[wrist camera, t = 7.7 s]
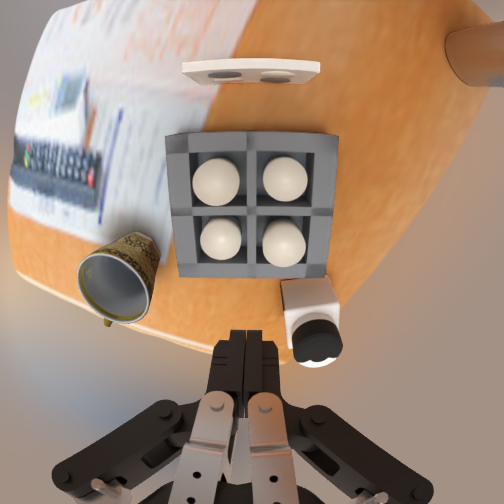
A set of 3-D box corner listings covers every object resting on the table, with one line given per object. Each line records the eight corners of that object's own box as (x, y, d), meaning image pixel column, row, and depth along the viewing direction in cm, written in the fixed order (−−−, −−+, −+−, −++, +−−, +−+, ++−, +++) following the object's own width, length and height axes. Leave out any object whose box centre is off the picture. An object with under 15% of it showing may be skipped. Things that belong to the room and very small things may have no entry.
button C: (240, 156, 28) (238, 160, 25) (240, 197, 30) (239, 205, 27) (197, 157, 28) (191, 161, 25) (199, 198, 30) (194, 206, 27)
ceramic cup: (118, 209, 35) (81, 239, 26) (181, 238, 37) (159, 277, 28) (102, 279, 40) (73, 317, 31) (156, 304, 42) (136, 348, 33)
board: (326, 133, 30) (338, 136, 26) (316, 258, 38) (324, 277, 33) (177, 133, 30) (165, 136, 26) (187, 258, 38) (179, 277, 34)
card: (303, 76, 27) (320, 62, 19) (303, 85, 28) (320, 73, 20) (200, 77, 27) (181, 62, 19) (200, 86, 28) (181, 74, 20)
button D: (241, 213, 33) (240, 222, 30) (242, 248, 35) (241, 260, 32) (203, 213, 33) (198, 222, 30) (205, 248, 35) (201, 259, 32)
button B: (302, 218, 31) (307, 228, 28) (300, 254, 33) (303, 267, 30) (262, 218, 31) (263, 228, 28) (261, 254, 33) (262, 267, 30)
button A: (303, 155, 29) (308, 159, 27) (301, 194, 31) (306, 201, 29) (262, 154, 29) (263, 158, 27) (262, 193, 31) (262, 201, 29)
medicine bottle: (279, 280, 40) (287, 339, 29) (328, 273, 39) (350, 329, 28) (284, 317, 43) (291, 377, 32) (328, 311, 42) (346, 368, 31)
